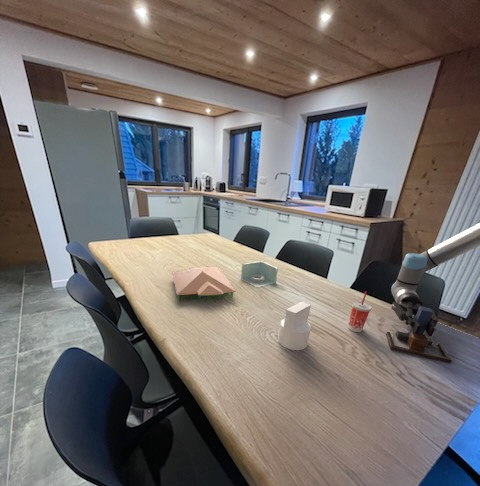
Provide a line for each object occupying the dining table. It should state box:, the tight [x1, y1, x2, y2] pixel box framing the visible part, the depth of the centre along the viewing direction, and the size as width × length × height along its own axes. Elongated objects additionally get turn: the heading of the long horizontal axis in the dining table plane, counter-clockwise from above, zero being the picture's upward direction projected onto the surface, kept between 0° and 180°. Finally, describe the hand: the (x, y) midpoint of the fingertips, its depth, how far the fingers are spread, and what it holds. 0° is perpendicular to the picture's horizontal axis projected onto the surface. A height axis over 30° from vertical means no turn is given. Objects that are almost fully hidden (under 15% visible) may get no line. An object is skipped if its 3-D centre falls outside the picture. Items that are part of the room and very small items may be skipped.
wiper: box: [395, 306, 434, 347], centre depth 84 cm, size 10×3×12 cm, turn 70°
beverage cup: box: [347, 290, 373, 333], centre depth 89 cm, size 6×6×14 cm
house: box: [171, 266, 236, 303], centre depth 113 cm, size 23×33×8 cm
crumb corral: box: [385, 331, 453, 364], centre depth 83 cm, size 16×10×1 cm, turn 70°
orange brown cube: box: [406, 332, 429, 352], centre depth 83 cm, size 4×4×4 cm
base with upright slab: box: [277, 300, 312, 351], centre depth 79 cm, size 9×9×12 cm
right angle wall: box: [240, 260, 279, 288], centre depth 126 cm, size 12×12×8 cm
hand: (424, 331), depth 79 cm, fingers closed on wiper, 3 cm apart
